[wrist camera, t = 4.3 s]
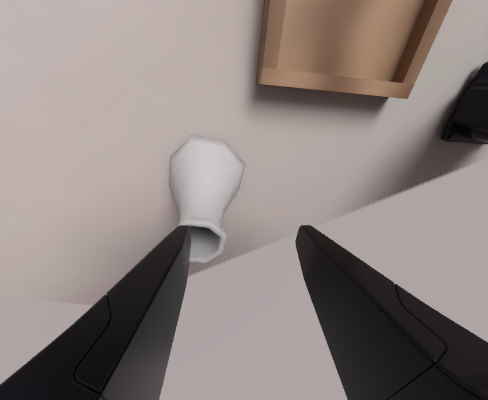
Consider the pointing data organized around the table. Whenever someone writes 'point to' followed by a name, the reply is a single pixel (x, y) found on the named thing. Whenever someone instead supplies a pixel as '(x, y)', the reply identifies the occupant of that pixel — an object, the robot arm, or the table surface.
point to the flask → (204, 192)
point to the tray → (348, 44)
